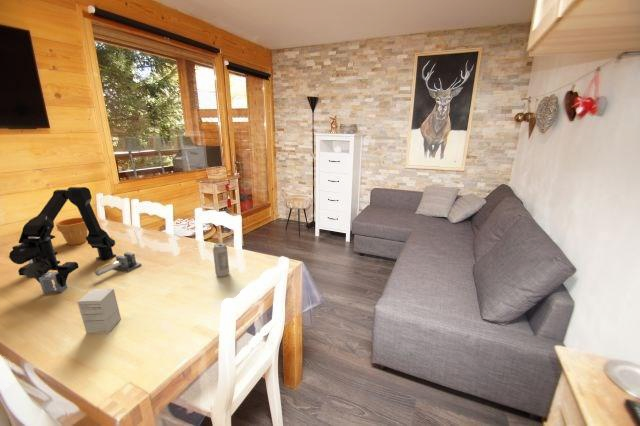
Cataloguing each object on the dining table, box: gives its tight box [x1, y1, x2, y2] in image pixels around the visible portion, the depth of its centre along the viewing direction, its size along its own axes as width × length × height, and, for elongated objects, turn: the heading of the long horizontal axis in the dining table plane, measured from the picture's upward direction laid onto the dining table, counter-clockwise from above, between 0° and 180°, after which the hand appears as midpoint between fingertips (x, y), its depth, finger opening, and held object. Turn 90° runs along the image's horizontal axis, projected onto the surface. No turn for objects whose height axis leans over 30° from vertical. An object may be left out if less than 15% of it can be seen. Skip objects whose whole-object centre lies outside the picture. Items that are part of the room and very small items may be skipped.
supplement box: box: [77, 288, 122, 334], centre depth 96 cm, size 7×7×13 cm
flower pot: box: [55, 217, 88, 246], centre depth 165 cm, size 14×14×13 cm
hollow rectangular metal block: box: [39, 271, 69, 295], centre depth 117 cm, size 6×4×8 cm, turn 95°
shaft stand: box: [94, 252, 142, 277], centre depth 133 cm, size 10×17×6 cm, turn 160°
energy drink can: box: [212, 242, 230, 278], centre depth 130 cm, size 6×6×15 cm
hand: (54, 286), depth 118 cm, fingers closed on hollow rectangular metal block, 6 cm apart
